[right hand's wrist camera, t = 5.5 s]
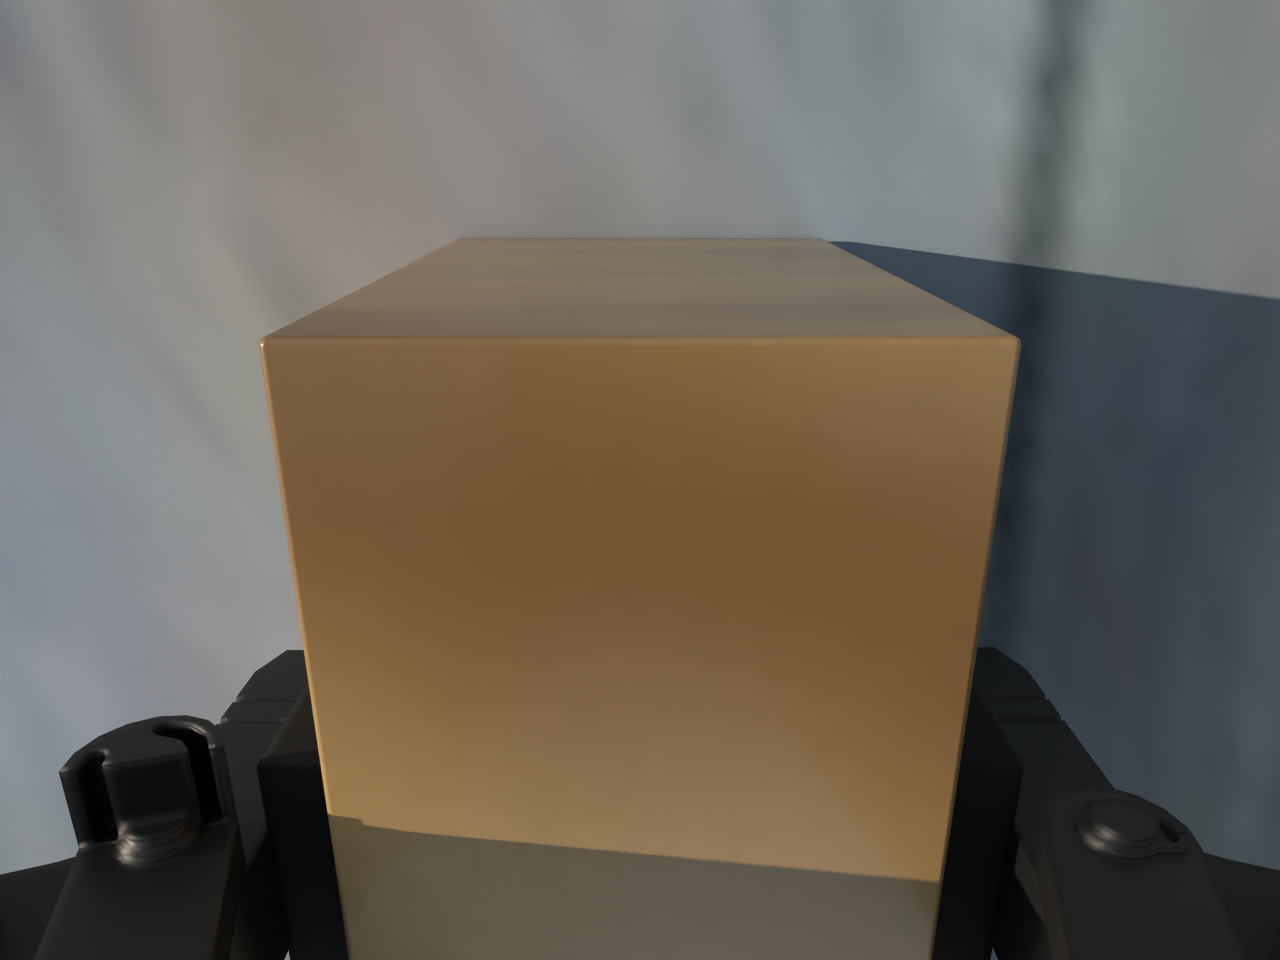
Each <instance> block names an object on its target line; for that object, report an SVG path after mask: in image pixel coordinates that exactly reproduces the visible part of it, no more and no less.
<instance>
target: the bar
mask: <svg viewBox="0 0 1280 960" xmlns="http://www.w3.org/2000/svg"><path fill="white" fill-rule="evenodd" d="M259 348H260V355H261V362H262V368H263V375H264V382H265V389H266V396H267V403H268V409H269V416H270V423H271V430H272V437H273V444H274V450H275V457H276V464H277V471H278V478H279V484H280V491H281V498H282V505H283V512H284V519H285V525H286V532H287V539H288V546H289V553H290V560H291V566H292V573H293V580H294V587H295V594H296V600H297V607H298V614H299V621H300V628H301V635H302V641H303V648H304V655H305V662H306V669H307V676H308V682H309V689H310V696H311V703H312V710H313V716H314V723H315V730H316V737H317V744H318V751H319V757H320V764H321V771H322V778H323V785H324V792H325V798H326V805H327V812H328V819H329V826H330V832H331V839H332V846H333V853H334V860H335V867H336V873H337V880H338V887H339V894H340V901H341V908H342V914H343V921H344V928H345V935H346V942H347V948H348V955H349V960H931V959H932V952H933V946H934V939H935V932H936V925H937V918H938V911H939V905H940V898H941V891H942V884H943V877H944V871H945V864H946V857H947V850H948V843H949V836H950V830H951V823H952V816H953V809H954V802H955V796H956V789H957V782H958V775H959V768H960V761H961V755H962V748H963V741H964V734H965V727H966V721H967V714H968V707H969V700H970V693H971V686H972V680H973V673H974V666H975V659H976V652H977V646H978V639H979V632H980V625H981V618H982V611H983V605H984V598H985V591H986V584H987V577H988V571H989V564H990V557H991V550H992V543H993V536H994V530H995V523H996V516H997V509H998V502H999V496H1000V489H1001V482H1002V475H1003V468H1004V461H1005V455H1006V448H1007V441H1008V434H1009V427H1010V421H1011V414H1012V407H1013V400H1014V393H1015V386H1016V380H1017V373H1018V366H1019V359H1020V352H1021V341H1020V338H1018V337H1016V336H1014V335H1012V334H1010V333H1008V332H1006V331H1004V330H1002V329H1000V328H998V327H996V326H994V325H992V324H990V323H988V322H986V321H984V320H982V319H980V318H978V317H976V316H974V315H972V314H970V313H968V312H966V311H964V310H962V309H960V308H958V307H956V306H954V305H952V304H950V303H948V302H946V301H944V300H942V299H940V298H938V297H936V296H934V295H932V294H930V293H928V292H926V291H924V290H922V289H920V288H918V287H916V286H914V285H912V284H910V283H908V282H907V281H905V280H903V279H901V278H899V277H897V276H895V275H893V274H891V273H889V272H887V271H885V270H883V269H881V268H879V267H877V266H875V265H873V264H871V263H869V262H867V261H865V260H863V259H861V258H859V257H857V256H855V255H853V254H851V253H849V252H847V251H845V250H843V249H841V248H839V247H837V246H835V245H833V244H831V243H829V242H827V241H825V240H823V239H821V238H460V239H458V240H455V241H453V242H451V243H450V244H448V245H446V246H444V247H442V248H440V249H438V250H436V251H434V252H432V253H430V254H428V255H426V256H424V257H422V258H420V259H418V260H416V261H414V262H412V263H410V264H408V265H406V266H404V267H402V268H400V269H398V270H396V271H394V272H392V273H390V274H388V275H386V276H384V277H382V278H380V279H378V280H376V281H374V282H372V283H370V284H368V285H366V286H364V287H362V288H360V289H358V290H356V291H354V292H352V293H350V294H348V295H346V296H344V297H342V298H340V299H338V300H336V301H334V302H332V303H330V304H328V305H326V306H324V307H323V308H321V309H319V310H317V311H315V312H313V313H311V314H309V315H307V316H305V317H303V318H301V319H299V320H297V321H295V322H293V323H291V324H289V325H287V326H285V327H283V328H281V329H279V330H277V331H275V332H273V333H271V334H269V335H267V336H265V337H263V338H261V340H260V344H259Z"/></svg>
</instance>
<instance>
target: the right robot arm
mask: <svg viewBox="0 0 1280 960" xmlns="http://www.w3.org/2000/svg"><path fill="white" fill-rule="evenodd" d="M59 775H60V778H61V782H62V786H63V790H64V793H65V797H66V801H67V804H68V808H69V812H70V816H71V819H72V823H73V827H74V831H75V834H76V838H77V842H78V846H79V850H78V852H77V855H76V857H73V858H69V859H66V860H62V861H59V862H56V863H51V864H47V865H42V866H38V867H33V868H29V869H24V870H19V871H15V872H10V873H6V874H1V875H0V960H284V959H285V957H286V954H287V952H288V950H289V955H290V960H349V955H348V948H347V942H346V935H345V928H344V921H343V914H342V908H341V901H340V894H339V887H338V880H337V873H336V867H335V860H334V853H333V846H332V839H331V832H330V826H329V819H328V812H327V805H326V798H325V792H324V785H323V778H322V771H321V764H320V757H319V751H318V744H317V737H316V730H315V723H314V716H313V710H312V703H311V696H310V689H309V682H308V676H307V669H306V662H305V655H304V650H287V651H285V652H284V653H282V654H281V655H279V656H278V657H276V658H275V659H273V660H272V661H270V662H269V663H268V664H266V665H265V666H263V667H262V668H260V669H259V670H257V671H256V672H255V673H254V674H253V675H252V677H251V678H250V680H249V681H248V682H247V684H246V685H245V686H244V688H243V689H242V690H241V692H240V693H239V695H238V696H237V697H236V702H233V703H232V704H231V705H230V707H229V708H228V710H227V711H226V712H225V714H224V715H223V716H222V718H221V723H220V724H217V725H216V726H215V725H214V724H212V723H211V722H210V721H209V720H205V719H201V718H196V717H192V716H187V715H182V716H160V717H155V718H150V719H146V720H142V721H138V722H134V723H130V724H126V725H124V726H122V727H120V728H117V729H115V730H113V731H110V732H108V733H106V734H103V735H101V736H99V737H97V738H96V739H94V740H93V741H91V742H90V743H88V744H87V745H85V746H84V747H83V748H81V749H80V750H78V751H77V752H75V753H74V754H73V755H72V756H71V758H70V759H69V760H68V761H67V763H66V764H65V765H64V766H63V768H62V769H61V770H60V771H59ZM992 947H993V949H994V951H995V953H996V955H997V958H998V960H1280V871H1278V870H1274V869H1269V868H1265V867H1260V866H1256V865H1251V864H1247V863H1242V862H1238V861H1233V860H1229V859H1225V858H1221V857H1218V856H1214V855H1211V854H1207V853H1204V852H1203V851H1202V848H1201V846H1200V845H1199V844H1198V842H1197V841H1196V839H1195V838H1194V836H1193V835H1192V833H1191V832H1190V830H1189V829H1188V828H1187V827H1186V826H1185V825H1184V824H1183V823H1181V822H1180V821H1179V820H1178V819H1176V818H1175V817H1174V816H1173V815H1171V814H1170V813H1169V812H1167V811H1166V810H1165V809H1163V808H1161V807H1159V806H1157V805H1155V804H1153V803H1151V802H1149V801H1147V800H1145V799H1143V798H1141V797H1139V796H1137V795H1134V794H1130V793H1127V792H1123V791H1119V790H1116V789H1114V787H1113V786H1112V785H1111V783H1110V782H1109V781H1108V779H1107V778H1106V777H1105V775H1104V774H1103V773H1102V771H1101V770H1100V768H1099V767H1098V766H1097V764H1096V763H1095V762H1094V760H1093V759H1092V758H1091V756H1090V755H1089V754H1088V752H1087V751H1086V750H1085V748H1084V747H1083V745H1082V744H1081V743H1080V741H1079V740H1078V739H1077V737H1076V736H1075V735H1074V733H1073V732H1072V731H1071V729H1070V728H1069V726H1068V725H1067V724H1066V722H1065V721H1061V719H1060V714H1059V713H1058V712H1057V710H1056V709H1055V708H1054V706H1053V705H1052V703H1051V702H1050V701H1049V699H1045V694H1044V693H1043V691H1042V690H1041V689H1040V687H1039V686H1038V685H1037V683H1036V682H1035V680H1034V679H1033V678H1032V676H1031V675H1030V674H1029V672H1028V671H1027V670H1026V669H1025V668H1024V667H1022V666H1021V665H1019V664H1018V663H1016V662H1015V661H1013V660H1012V659H1010V658H1009V657H1007V656H1006V655H1004V654H1003V653H1002V652H1000V651H999V650H997V649H996V648H994V647H977V652H976V659H975V666H974V673H973V680H972V686H971V693H970V700H969V707H968V714H967V721H966V727H965V734H964V741H963V748H962V755H961V761H960V768H959V775H958V782H957V789H956V796H955V802H954V809H953V816H952V823H951V830H950V836H949V843H948V850H947V857H946V864H945V871H944V877H943V884H942V891H941V898H940V905H939V911H938V918H937V925H936V932H935V939H934V946H933V952H932V959H931V960H990V959H991V953H992Z"/></svg>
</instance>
